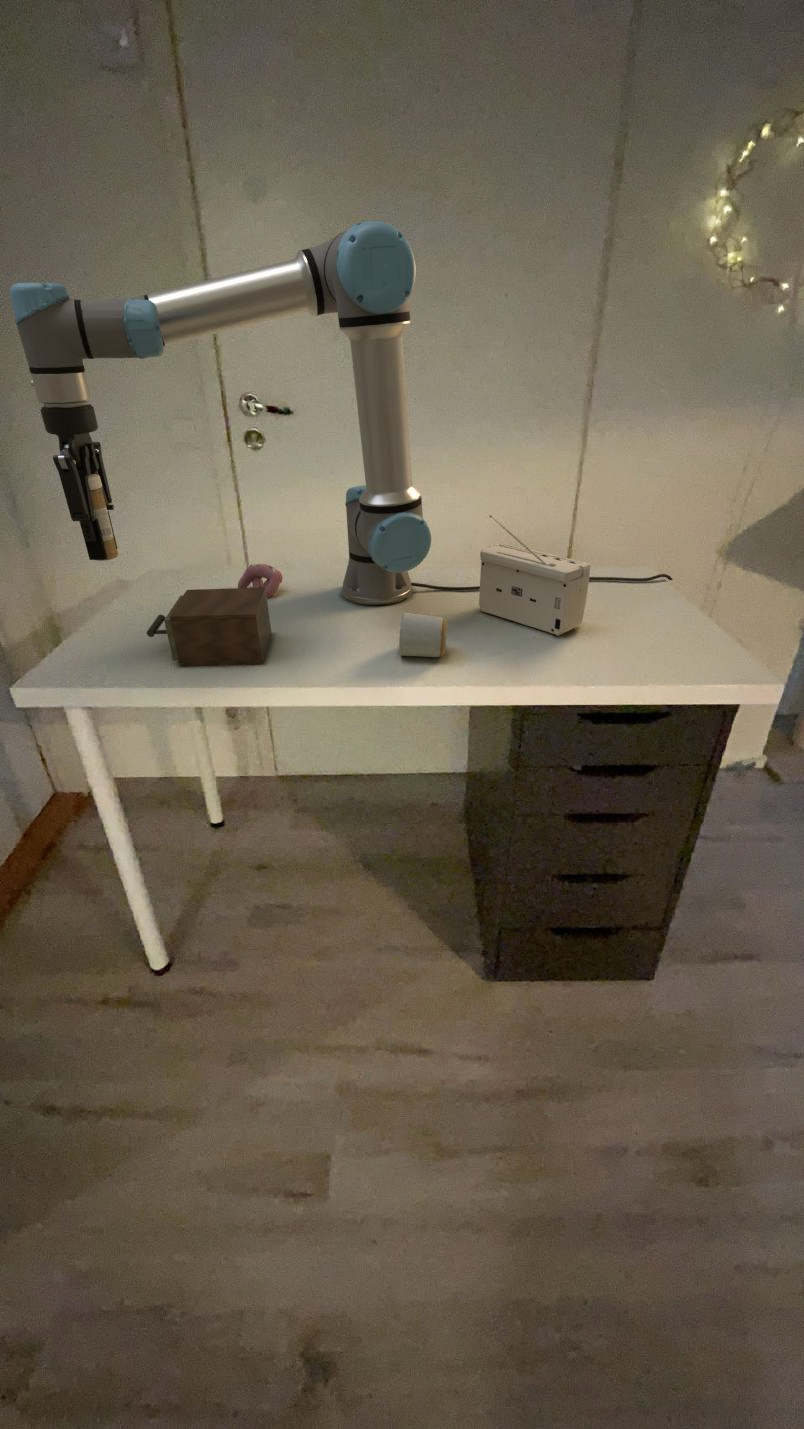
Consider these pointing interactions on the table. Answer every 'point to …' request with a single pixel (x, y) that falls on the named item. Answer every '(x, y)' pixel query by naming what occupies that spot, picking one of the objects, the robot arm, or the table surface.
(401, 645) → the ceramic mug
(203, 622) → the cabinet
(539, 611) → the radio
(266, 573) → the pink curved ring
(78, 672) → the table surface
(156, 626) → the drawer
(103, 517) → the sprinkles bottle
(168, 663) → the table surface
